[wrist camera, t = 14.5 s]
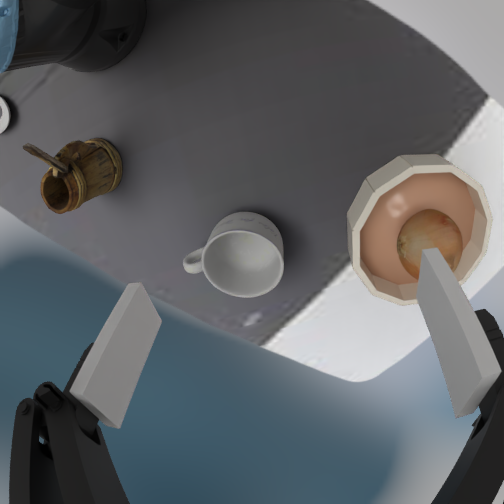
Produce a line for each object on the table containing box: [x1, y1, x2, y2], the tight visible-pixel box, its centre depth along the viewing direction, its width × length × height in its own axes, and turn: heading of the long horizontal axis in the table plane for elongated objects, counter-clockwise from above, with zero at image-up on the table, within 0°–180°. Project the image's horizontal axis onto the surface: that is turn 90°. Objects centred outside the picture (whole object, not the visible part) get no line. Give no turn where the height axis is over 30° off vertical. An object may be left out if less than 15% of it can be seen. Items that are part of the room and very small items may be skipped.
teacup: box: [183, 212, 284, 298], centre depth 43 cm, size 14×11×8 cm
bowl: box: [347, 154, 493, 306], centre depth 39 cm, size 22×22×5 cm
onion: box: [397, 209, 463, 280], centre depth 36 cm, size 10×10×10 cm
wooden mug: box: [23, 138, 122, 214], centre depth 34 cm, size 9×14×18 cm, turn 150°
